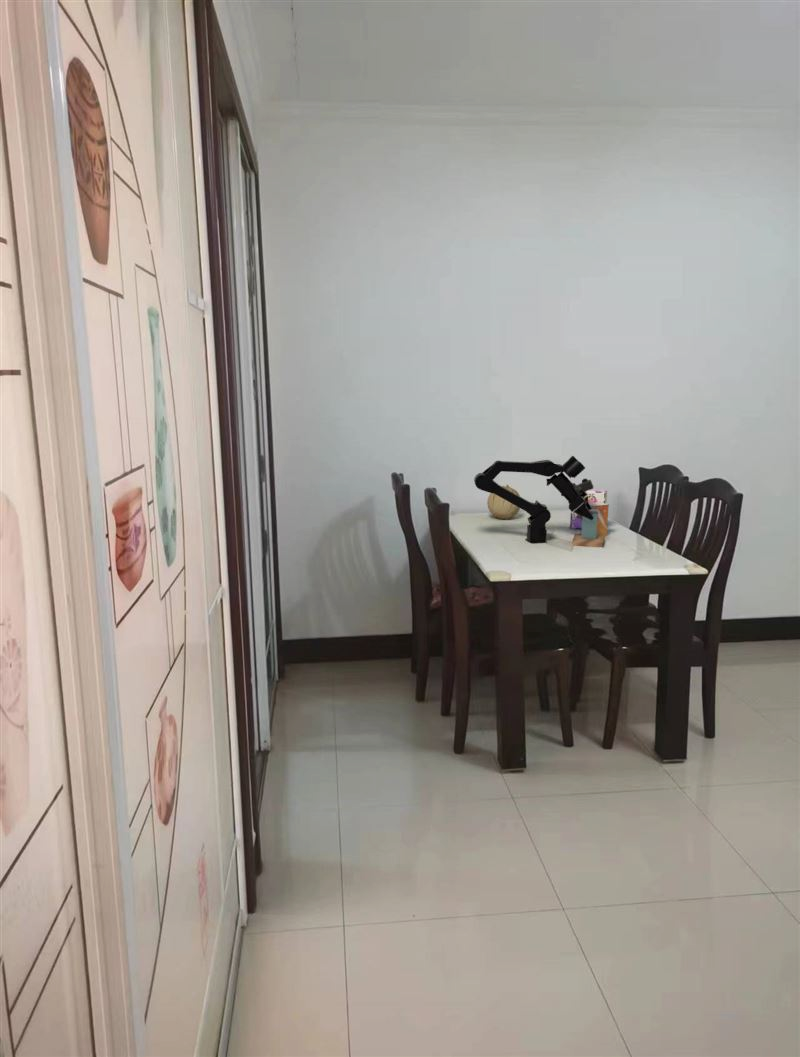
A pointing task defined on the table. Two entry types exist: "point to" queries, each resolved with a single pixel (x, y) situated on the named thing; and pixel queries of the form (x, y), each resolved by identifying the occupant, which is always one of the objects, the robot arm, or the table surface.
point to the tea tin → (590, 525)
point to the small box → (601, 517)
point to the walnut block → (588, 541)
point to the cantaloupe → (502, 505)
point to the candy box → (592, 498)
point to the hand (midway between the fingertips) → (593, 517)
